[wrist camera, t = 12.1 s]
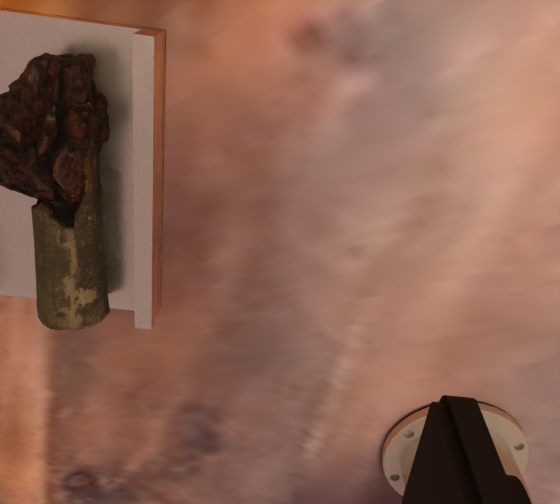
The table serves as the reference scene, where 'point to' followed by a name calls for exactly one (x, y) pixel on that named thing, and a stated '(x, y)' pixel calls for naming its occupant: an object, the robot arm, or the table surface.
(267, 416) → the table surface
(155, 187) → the cradle
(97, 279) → the brown knobbed club
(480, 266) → the table surface
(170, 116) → the table surface
